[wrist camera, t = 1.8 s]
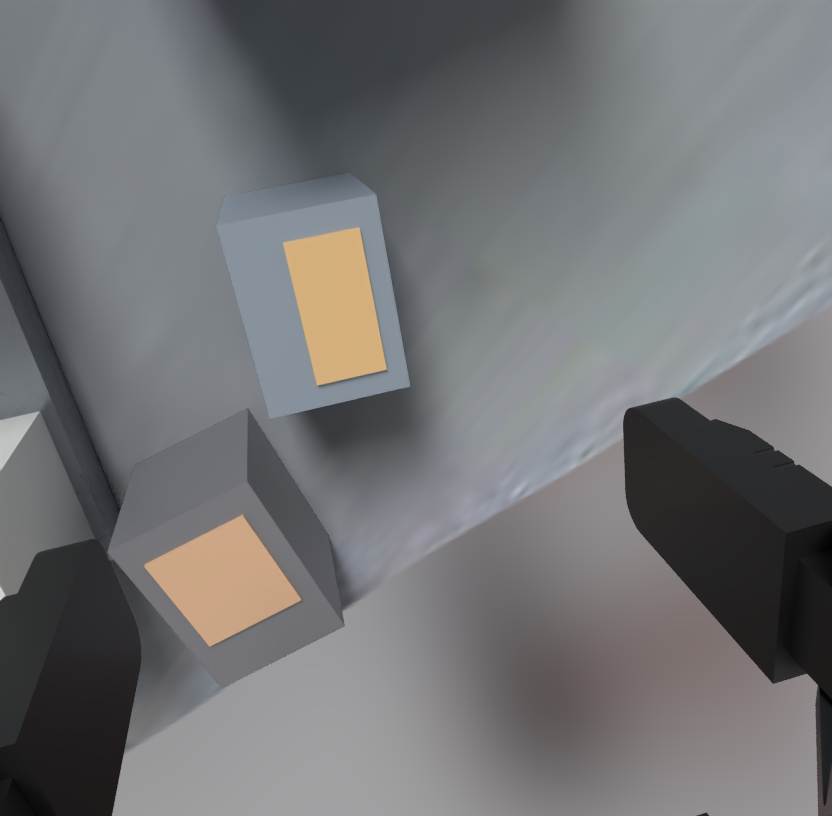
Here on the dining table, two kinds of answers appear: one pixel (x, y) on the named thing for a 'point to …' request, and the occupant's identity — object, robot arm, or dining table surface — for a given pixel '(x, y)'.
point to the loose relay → (228, 550)
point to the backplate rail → (47, 394)
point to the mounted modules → (33, 499)
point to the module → (314, 292)
